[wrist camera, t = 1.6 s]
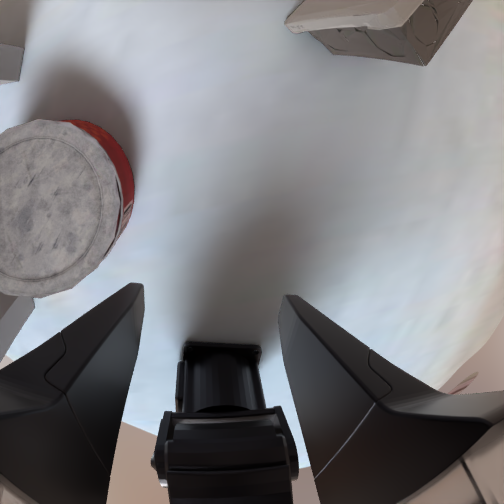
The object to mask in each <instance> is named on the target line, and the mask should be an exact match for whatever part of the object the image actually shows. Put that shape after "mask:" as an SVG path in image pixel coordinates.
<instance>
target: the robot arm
mask: <svg viewBox="0 0 504 504" xmlns="http://www.w3.org/2000/svg"><path fill="white" fill-rule="evenodd" d="M144 311H145V302H144V286H143V284H141V283H129V284H127V285H126V286H125V287H123V288H122V289H120V290H119V291H117V292H116V293H114V294H113V295H111V296H110V297H108V298H107V299H105V300H104V301H103V302H101V303H100V304H98V305H97V306H95V307H94V308H92V309H91V310H90V311H88V312H87V313H85V314H84V315H82V316H81V317H80V318H78V319H77V320H75V321H74V322H73V323H71V324H70V325H68V326H67V327H66V328H64V329H63V330H61V332H59V333H57V334H56V335H54V336H53V337H52V338H50V339H49V340H47V341H46V342H44V343H43V344H42V345H40V346H39V347H37V348H35V349H34V350H32V351H31V352H29V353H27V354H26V355H24V356H22V357H21V358H19V359H17V360H16V361H14V362H12V363H11V364H9V365H7V366H6V367H4V368H2V369H1V370H0V504H106V501H107V495H108V488H109V481H110V475H111V470H112V464H113V458H114V454H115V449H116V443H117V438H118V434H119V429H120V425H121V420H122V416H123V411H124V407H125V403H126V398H127V394H128V390H129V386H130V382H131V378H132V375H133V371H134V367H135V363H136V360H137V355H138V350H139V344H140V337H141V330H142V324H143V318H144ZM278 324H279V332H280V339H281V347H282V355H283V361H284V366H285V370H286V373H287V377H288V381H289V385H290V389H291V392H292V396H293V400H294V404H295V408H296V411H297V415H298V419H299V423H300V427H301V430H302V434H303V438H304V442H305V446H306V449H307V453H308V457H309V461H310V465H311V469H312V472H313V476H314V478H315V480H314V481H315V485H316V488H317V492H318V496H319V500H320V503H321V504H504V390H503V391H495V392H485V393H475V394H460V395H451V394H445V393H442V392H439V391H437V390H435V389H433V388H432V387H430V386H428V385H427V384H425V383H423V382H421V381H420V380H418V379H416V378H415V377H413V376H411V375H410V374H408V373H406V372H405V371H403V370H402V369H400V368H398V367H397V366H395V365H393V364H392V363H390V362H389V361H388V360H386V359H385V358H383V357H382V356H380V355H379V354H377V353H376V352H375V351H373V350H372V349H370V348H369V347H368V346H366V345H365V344H364V343H362V342H361V341H359V340H358V339H357V338H355V337H354V336H353V335H351V334H350V333H348V332H347V331H346V330H344V329H343V328H342V327H340V326H339V325H337V324H336V323H335V322H333V321H332V320H331V319H329V318H328V317H326V316H325V315H324V314H322V313H321V312H320V311H318V310H317V309H315V308H314V307H313V306H311V305H310V304H309V303H307V302H306V301H305V300H303V299H302V298H300V297H299V296H298V295H285V296H284V297H283V300H282V304H281V308H280V312H279V316H278ZM188 347H191V348H188ZM256 350H257V351H256ZM261 353H262V351H261V347H260V346H258V345H236V344H216V343H200V342H186V343H185V344H184V356H183V361H180V362H179V363H178V366H177V380H176V394H175V403H176V412H172V411H164V416H163V419H161V423H160V427H159V432H158V437H157V442H156V446H155V451H154V454H153V456H152V458H151V466H152V467H153V468H154V469H155V470H156V471H157V474H158V478H159V482H160V484H161V486H162V487H165V488H168V494H169V501H170V504H293V495H292V483H291V481H294V480H297V479H298V473H299V462H298V454H297V449H296V445H295V441H294V438H293V436H292V433H291V431H290V428H289V426H288V423H287V420H286V418H285V415H284V413H283V410H282V408H281V406H274V407H273V408H266V404H265V399H264V394H263V389H262V384H261V379H260V374H259V369H258V365H259V361H260V357H261Z"/></svg>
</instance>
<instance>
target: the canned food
mask: <svg viewBox="0 0 504 504" xmlns="http://www.w3.org/2000/svg"><path fill="white" fill-rule="evenodd" d="M133 204H134V181H133V174H132V170H131V167H130V165H129V162H128V159H127V157H126V155H125V153H124V152H123V150H122V148H121V146H120V145H119V144H118V143H117V142H116V140H115V139H114V138H113V137H112V136H111V135H110V134H109V133H107V132H106V131H105V130H103V129H102V128H101V127H99V126H97V125H94V124H92V123H90V122H87V121H81V120H62V121H51V120H44V119H36V120H33V121H31V122H28V123H25V124H22V125H19V126H15V127H12V128H9V129H7V130H5V131H4V132H3V133H2V134H0V292H2V293H4V294H6V295H14V296H25V297H33V298H43V297H46V296H49V295H52V294H55V293H58V292H61V291H65V290H69V289H72V288H73V287H74V286H75V285H77V284H78V283H79V282H80V281H81V280H82V279H84V278H85V277H86V276H87V275H89V274H90V273H91V272H92V271H94V270H95V269H96V268H98V266H99V264H100V263H101V262H102V261H103V260H104V259H105V258H106V257H107V256H108V254H109V253H110V251H111V250H112V248H113V247H114V245H115V243H116V241H117V239H118V238H119V237H120V235H121V234H122V232H123V231H124V229H125V228H126V226H127V224H128V221H129V219H130V216H131V213H132V209H133Z"/></svg>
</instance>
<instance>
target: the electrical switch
mask: <svg viewBox="0 0 504 504" xmlns="http://www.w3.org/2000/svg"><path fill="white" fill-rule="evenodd" d="M472 1H473V0H429V1H428V0H305V1H304V2H303V3H302V4H301V5H300V6H299V7H298V8H297V9H296V10H295V11H294V12H293V13H292V14H291V15H290V16H289V17H288V18H287V19H286V21H285V24H284V25H285V26H286V27H287V28H288V29H289V30H290V31H291V32H292V33H296V34H298V33H302V32H303V31H308V32H309V33H310V34H311V35H312V36H313V37H314V38H316V39H317V40H319V41H320V42H321V43H322V44H323V45H324V46H325V47H326V48H327V49H328V50H329V51H330V52H331V53H332V54H333V55H347V56H358V57H368V58H377V59H384V60H391V61H398V62H404V63H409V64H415V65H420V66H423V64H424V66H427V64H428V63H429V62H430V60H431V59H432V57H433V56H434V55H435V53H436V52H437V50H438V49H439V48H440V46H441V45H442V43H443V42H444V41H445V39H446V38H447V36H448V35H449V34H450V32H451V31H452V29H453V28H454V27H455V25H456V24H457V22H458V21H459V19H460V18H461V17H462V15H463V14H464V12H465V11H466V9H467V8H468V6H469V5H470V3H471V2H472ZM458 2H460V3H458ZM421 4H424V6H423V5H421ZM409 20H410V22H409ZM346 38H347V39H346ZM435 41H436V42H435ZM434 42H435V43H434ZM416 52H417V53H416ZM417 54H418V55H417ZM418 56H419V57H420V58H419V57H418ZM420 59H421V60H420ZM421 61H422V62H423V64H422V62H421Z"/></svg>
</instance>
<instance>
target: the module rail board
mask: <svg viewBox="0 0 504 504" xmlns="http://www.w3.org/2000/svg"><path fill="white" fill-rule="evenodd" d="M23 53H24V48H21V47H17V46H12V45H7V44H2V43H0V85H2V84H7V83H11V82H16V81H19V76H20V70H21V64H22V58H23ZM34 309H35V306H34V303H33V299H32V297H25V296H14V295H6V294H4V293H2V292H0V362H1V361H2V359H3V357H4V356H5V354H6V352H7V351H8V349H9V347H10V346H11V344H12V342H13V341H14V339H15V337H16V336H17V334H18V333H19V331H20V330H21V328H22V326H23V325H24V323H25V322H26V320H27V319H28V317H29V316H30V314H31V313H32V311H33V310H34Z"/></svg>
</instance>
